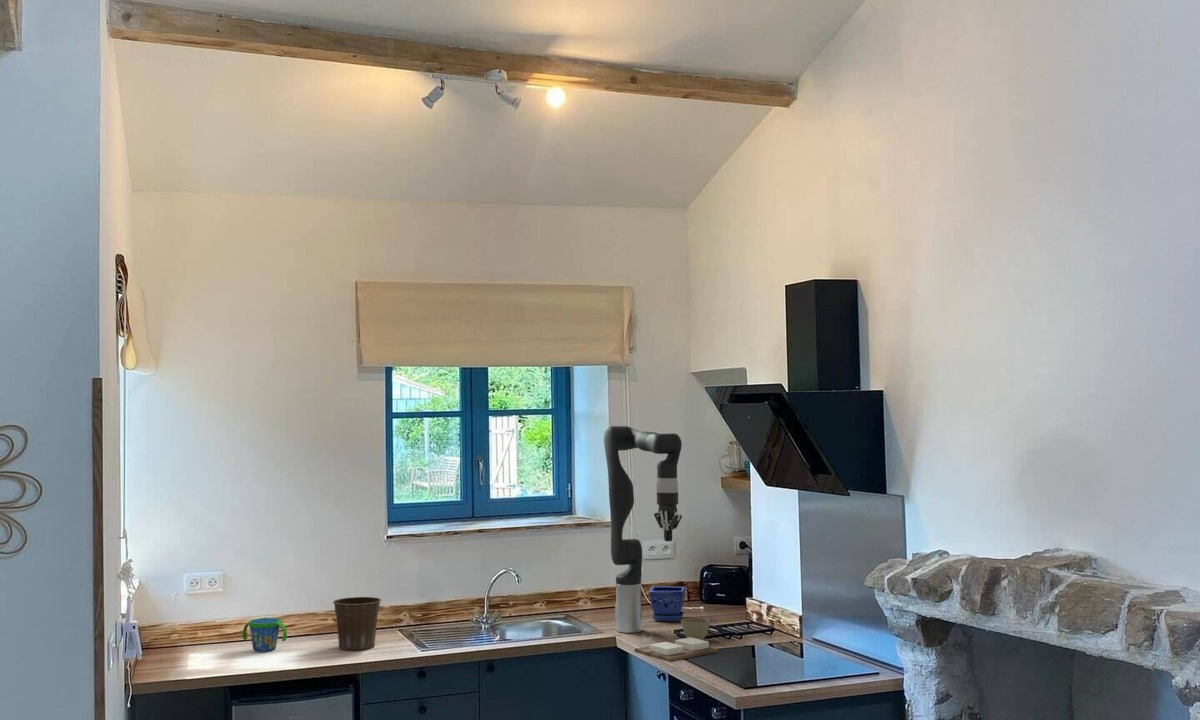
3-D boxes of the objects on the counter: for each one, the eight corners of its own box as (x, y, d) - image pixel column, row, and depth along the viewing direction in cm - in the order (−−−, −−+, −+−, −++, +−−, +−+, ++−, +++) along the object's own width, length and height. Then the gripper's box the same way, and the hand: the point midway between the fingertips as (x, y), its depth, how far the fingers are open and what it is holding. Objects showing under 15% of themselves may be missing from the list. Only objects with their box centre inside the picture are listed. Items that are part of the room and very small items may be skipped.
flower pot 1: (652, 616, 411) (651, 585, 412) (686, 616, 409) (685, 585, 410) (649, 622, 398) (648, 590, 399) (684, 622, 396) (683, 591, 397)
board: (634, 651, 347) (634, 648, 347) (682, 643, 359) (682, 640, 360) (669, 661, 333) (669, 658, 333) (718, 652, 345) (717, 648, 345)
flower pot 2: (708, 644, 357) (708, 623, 358) (679, 643, 359) (679, 622, 360) (711, 638, 367) (711, 617, 367) (683, 637, 369) (682, 617, 369)
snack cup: (293, 648, 362) (293, 618, 362) (275, 654, 352) (275, 624, 352) (254, 646, 366) (254, 616, 367) (235, 652, 356) (235, 622, 357)
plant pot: (365, 640, 373) (365, 594, 374) (390, 646, 362) (390, 599, 363) (324, 647, 362) (324, 600, 363) (349, 654, 350) (348, 605, 351)
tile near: (649, 644, 343) (666, 649, 336) (665, 641, 347) (683, 646, 340) (649, 651, 343) (667, 655, 336) (666, 648, 347) (683, 652, 340)
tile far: (675, 640, 350) (692, 644, 342) (690, 637, 354) (708, 641, 347) (675, 646, 350) (692, 651, 342) (691, 643, 354) (708, 648, 346)
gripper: (647, 490, 366) (648, 540, 365) (671, 492, 356) (672, 543, 355) (663, 489, 371) (664, 538, 370) (688, 491, 360) (689, 541, 359)
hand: (668, 541), depth 362 cm, fingers closed
